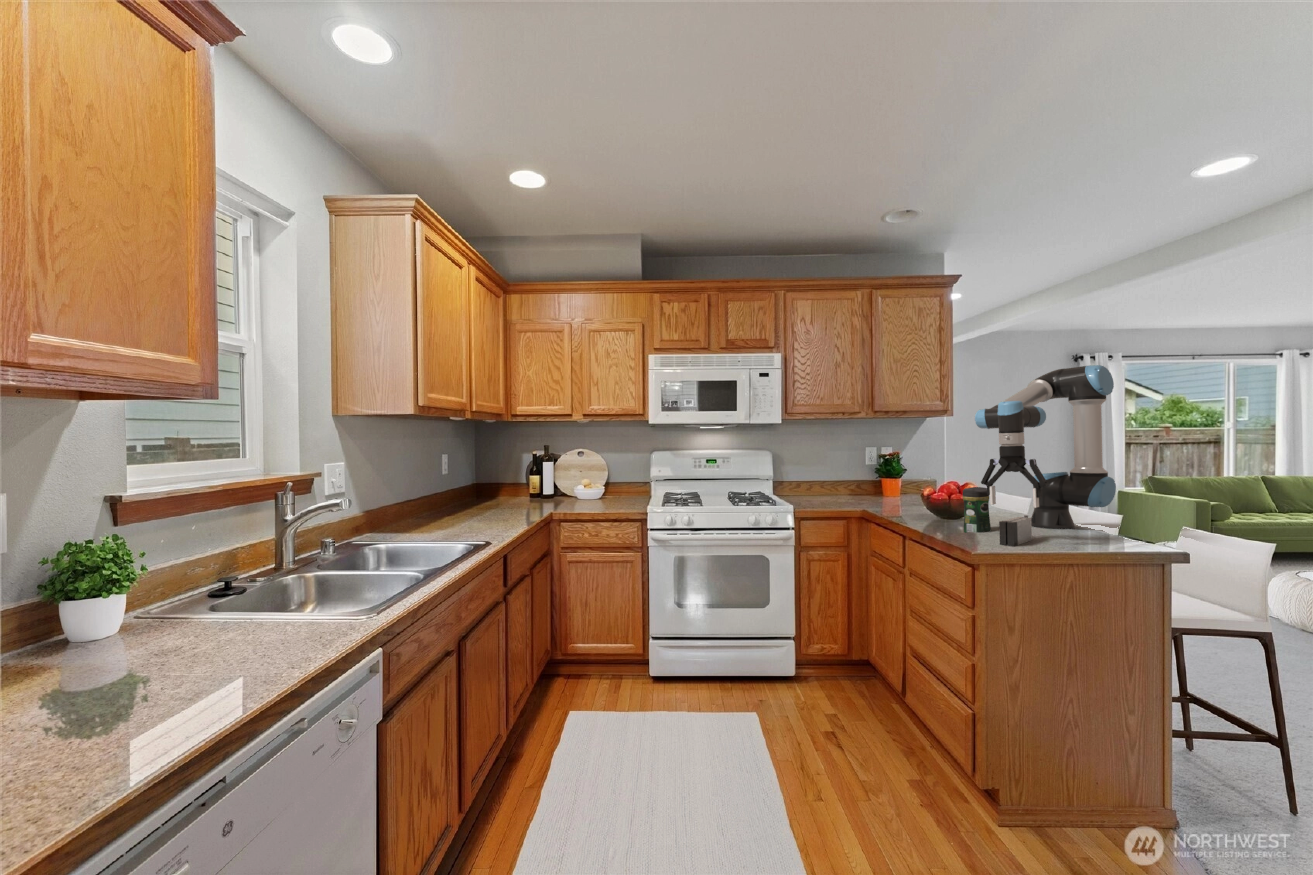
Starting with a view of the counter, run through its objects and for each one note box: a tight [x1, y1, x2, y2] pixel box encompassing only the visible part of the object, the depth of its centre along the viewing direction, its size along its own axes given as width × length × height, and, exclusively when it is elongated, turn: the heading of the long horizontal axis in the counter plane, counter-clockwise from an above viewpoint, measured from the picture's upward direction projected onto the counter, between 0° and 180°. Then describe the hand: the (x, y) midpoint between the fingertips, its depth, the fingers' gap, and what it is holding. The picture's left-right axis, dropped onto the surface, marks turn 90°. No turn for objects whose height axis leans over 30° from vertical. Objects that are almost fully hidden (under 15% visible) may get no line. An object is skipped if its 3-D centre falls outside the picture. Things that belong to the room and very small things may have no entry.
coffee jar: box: [962, 486, 992, 534], centre depth 222 cm, size 10×8×19 cm
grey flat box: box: [1007, 514, 1033, 547], centre depth 196 cm, size 18×3×9 cm, turn 126°
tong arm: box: [998, 516, 1024, 546], centre depth 198 cm, size 16×2×8 cm, turn 128°
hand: (1014, 505), depth 196 cm, fingers open, 13 cm apart
